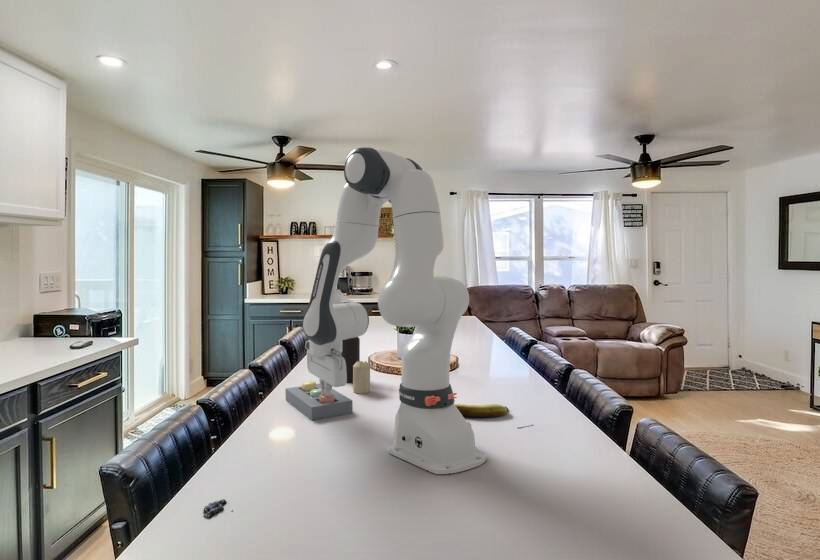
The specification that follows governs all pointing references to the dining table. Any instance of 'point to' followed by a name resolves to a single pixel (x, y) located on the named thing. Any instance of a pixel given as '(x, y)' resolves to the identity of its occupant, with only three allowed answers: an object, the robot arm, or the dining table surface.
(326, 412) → the button panel
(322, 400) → the brick button
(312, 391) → the sage button
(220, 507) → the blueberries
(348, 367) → the bottle
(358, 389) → the candle
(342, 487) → the dining table surface
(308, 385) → the mustard button
